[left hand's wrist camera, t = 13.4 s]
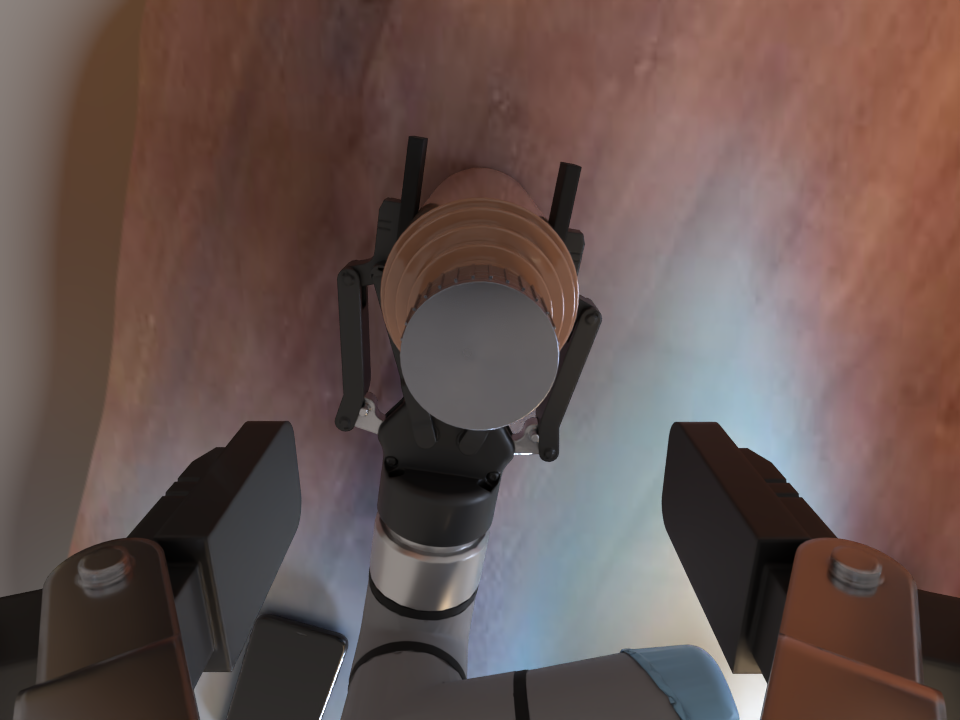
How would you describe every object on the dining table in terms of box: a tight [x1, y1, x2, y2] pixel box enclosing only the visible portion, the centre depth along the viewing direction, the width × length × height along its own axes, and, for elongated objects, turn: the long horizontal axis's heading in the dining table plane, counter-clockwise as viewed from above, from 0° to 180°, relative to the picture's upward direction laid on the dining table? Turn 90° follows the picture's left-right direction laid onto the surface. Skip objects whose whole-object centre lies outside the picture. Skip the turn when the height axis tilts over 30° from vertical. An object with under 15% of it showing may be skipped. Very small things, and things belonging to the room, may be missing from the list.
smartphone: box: [226, 614, 348, 720], centre depth 53 cm, size 8×1×16 cm
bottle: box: [380, 168, 579, 352], centre depth 29 cm, size 7×7×24 cm
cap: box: [400, 263, 559, 430], centre depth 18 cm, size 4×4×2 cm
